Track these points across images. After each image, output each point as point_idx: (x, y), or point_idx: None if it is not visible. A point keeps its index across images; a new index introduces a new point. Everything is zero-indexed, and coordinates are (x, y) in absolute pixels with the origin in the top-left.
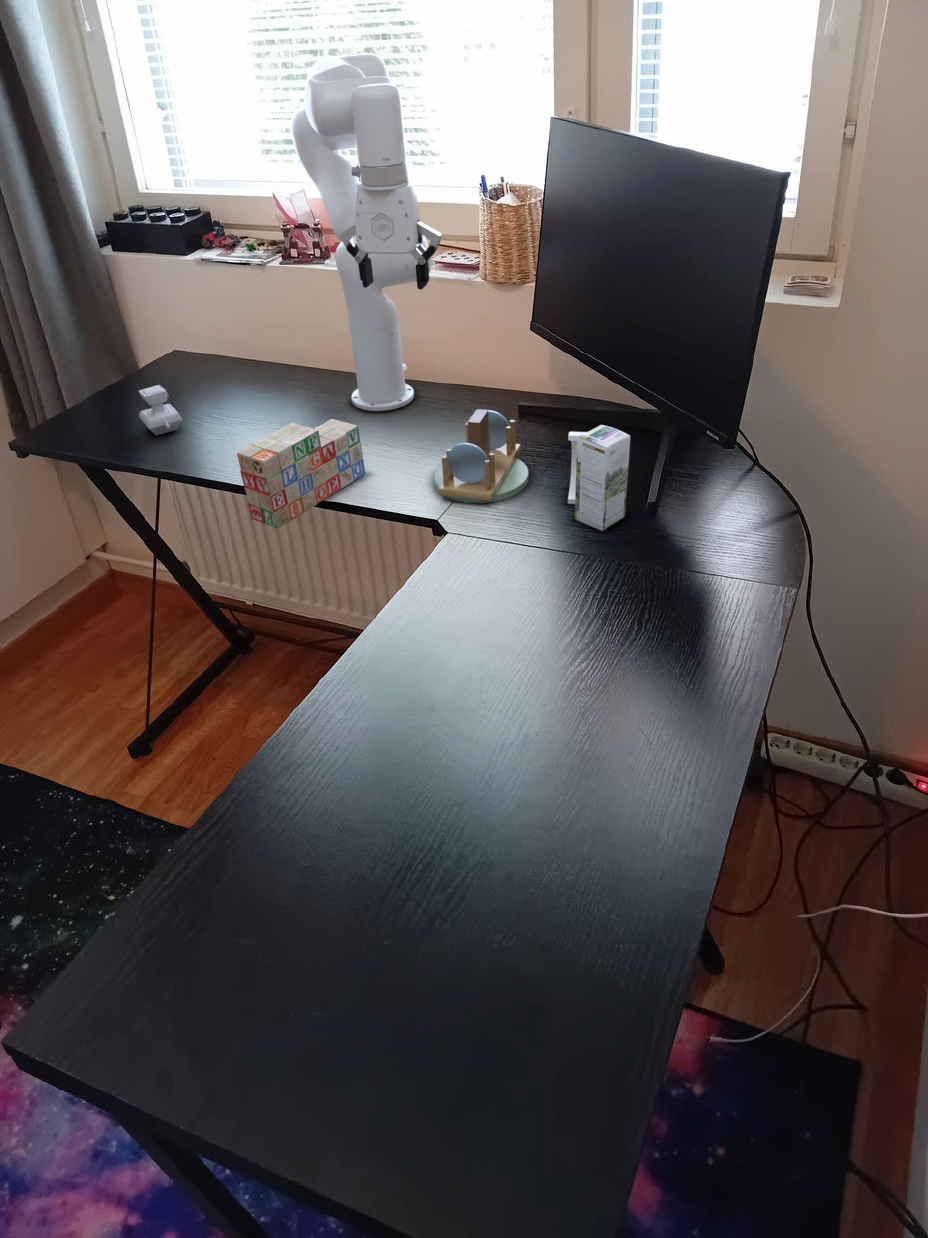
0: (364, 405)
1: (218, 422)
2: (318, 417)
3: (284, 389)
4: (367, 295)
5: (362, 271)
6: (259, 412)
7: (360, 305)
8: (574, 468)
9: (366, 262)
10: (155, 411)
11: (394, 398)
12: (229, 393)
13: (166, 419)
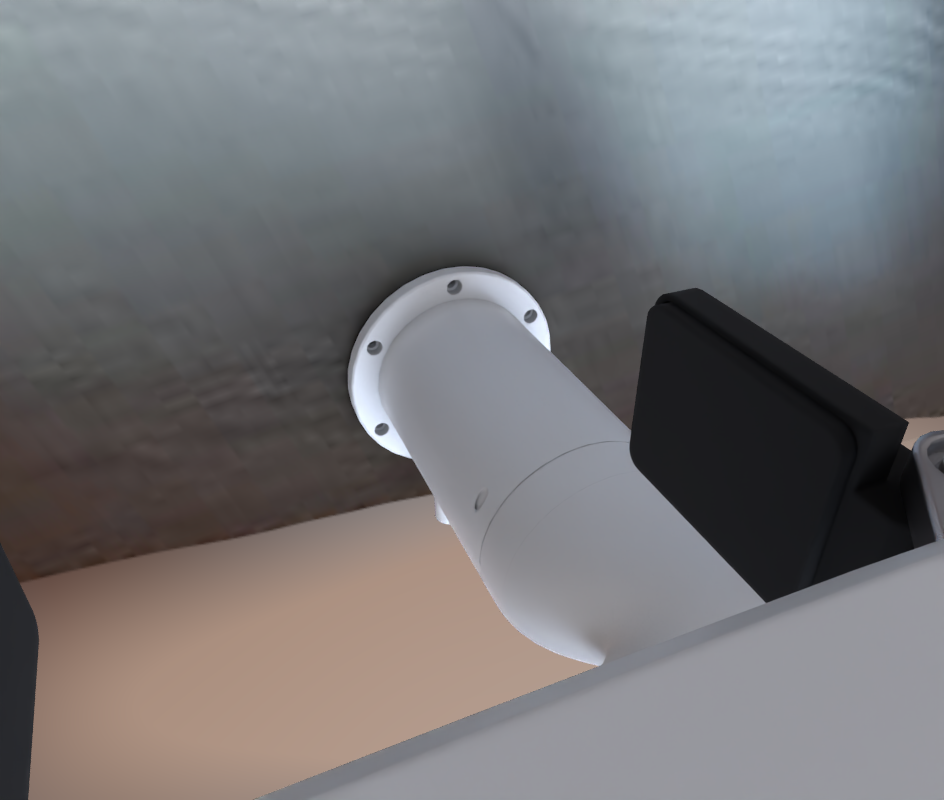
0: (479, 272)
1: (885, 42)
2: (603, 171)
3: (747, 314)
4: (651, 565)
5: (804, 366)
6: (784, 149)
7: (659, 515)
8: None
9: (825, 501)
10: None
11: (395, 344)
12: (879, 240)
13: None
